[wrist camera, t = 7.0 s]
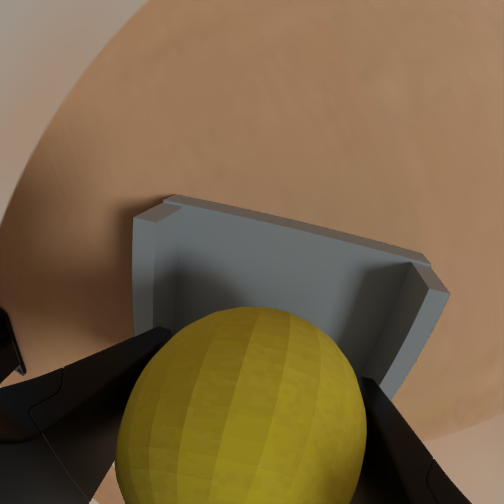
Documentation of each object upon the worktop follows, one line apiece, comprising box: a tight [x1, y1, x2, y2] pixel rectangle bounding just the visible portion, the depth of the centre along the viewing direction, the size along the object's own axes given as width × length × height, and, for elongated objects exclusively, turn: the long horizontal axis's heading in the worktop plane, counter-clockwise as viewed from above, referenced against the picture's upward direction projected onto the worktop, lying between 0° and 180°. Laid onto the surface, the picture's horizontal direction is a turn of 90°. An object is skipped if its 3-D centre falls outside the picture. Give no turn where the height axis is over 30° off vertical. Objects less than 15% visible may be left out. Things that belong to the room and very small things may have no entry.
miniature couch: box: [132, 195, 450, 401], centre depth 10 cm, size 10×8×5 cm
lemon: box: [115, 307, 367, 504], centre depth 6 cm, size 6×6×8 cm
